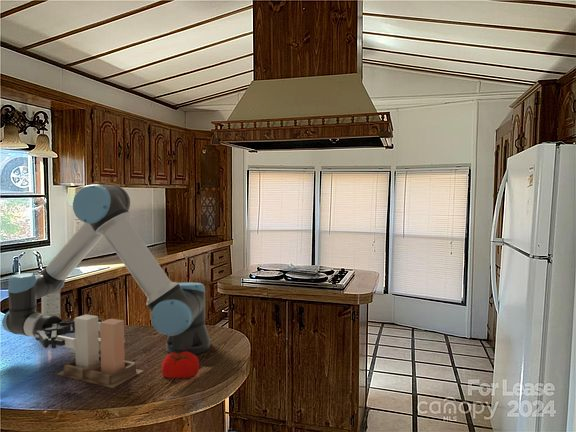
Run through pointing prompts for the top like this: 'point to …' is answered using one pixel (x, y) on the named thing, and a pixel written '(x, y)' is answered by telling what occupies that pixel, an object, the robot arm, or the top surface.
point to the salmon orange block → (112, 345)
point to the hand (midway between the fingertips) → (94, 336)
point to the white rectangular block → (86, 340)
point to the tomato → (180, 365)
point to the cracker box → (51, 304)
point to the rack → (100, 373)
